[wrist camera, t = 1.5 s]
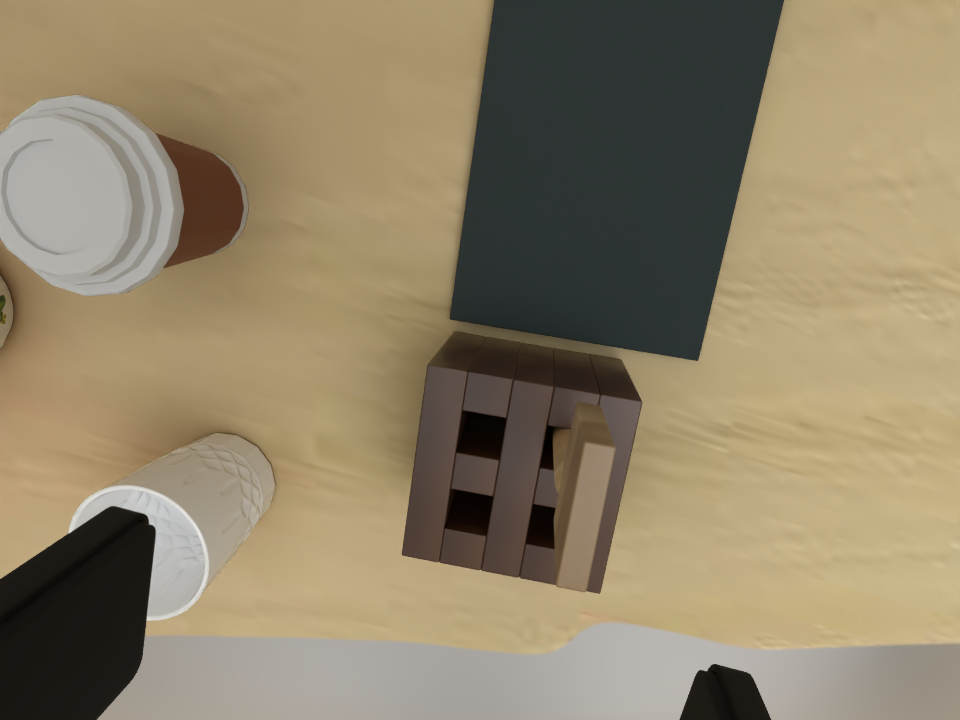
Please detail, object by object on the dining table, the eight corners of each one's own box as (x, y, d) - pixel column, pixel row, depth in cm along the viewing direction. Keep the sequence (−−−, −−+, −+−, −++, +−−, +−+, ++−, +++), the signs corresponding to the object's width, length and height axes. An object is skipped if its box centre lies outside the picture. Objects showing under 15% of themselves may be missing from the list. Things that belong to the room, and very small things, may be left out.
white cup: (303, 462, 43) (232, 536, 33) (254, 552, 45) (173, 646, 35) (200, 402, 43) (98, 458, 33) (155, 495, 45) (46, 573, 35)
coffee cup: (238, 103, 38) (102, 55, 27) (290, 253, 40) (184, 270, 28) (105, 151, 40) (-79, 125, 28) (161, 293, 41) (9, 325, 30)
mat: (802, -92, 33) (807, -97, 32) (695, 358, 39) (698, 361, 38) (513, -126, 34) (513, -132, 33) (450, 317, 40) (449, 319, 39)
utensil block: (621, 359, 39) (642, 401, 30) (589, 514, 42) (600, 594, 33) (453, 331, 40) (427, 364, 31) (431, 485, 42) (401, 555, 34)
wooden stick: (583, 346, 39) (622, 448, 20) (569, 423, 40) (592, 594, 21) (560, 342, 39) (577, 440, 20) (546, 419, 40) (549, 586, 21)
